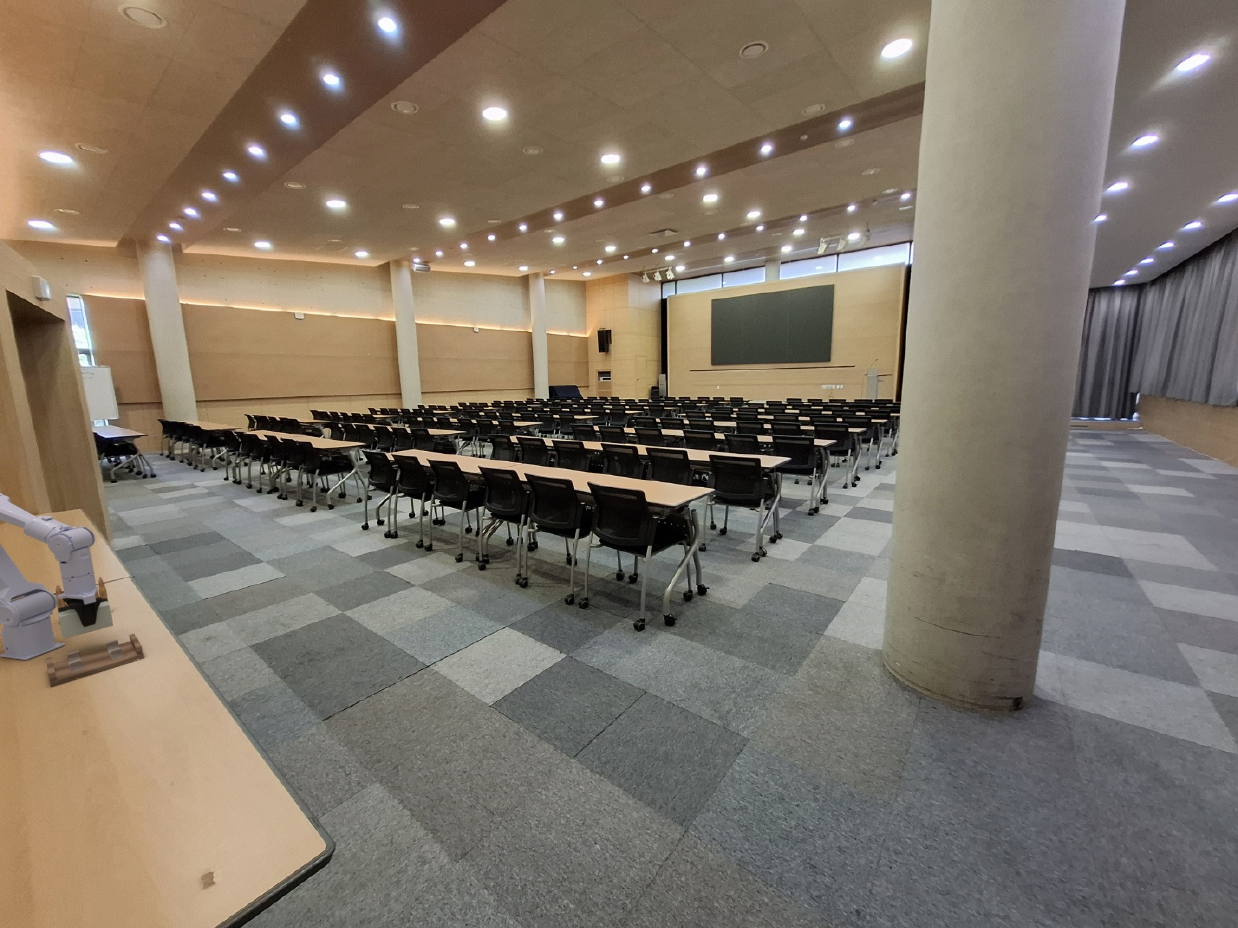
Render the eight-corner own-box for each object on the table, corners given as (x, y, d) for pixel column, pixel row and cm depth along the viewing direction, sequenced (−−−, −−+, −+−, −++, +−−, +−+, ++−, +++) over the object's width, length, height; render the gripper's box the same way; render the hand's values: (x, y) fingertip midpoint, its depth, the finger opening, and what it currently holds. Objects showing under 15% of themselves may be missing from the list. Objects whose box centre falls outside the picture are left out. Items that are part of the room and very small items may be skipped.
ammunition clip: (59, 624, 147) (52, 586, 146) (60, 622, 149) (53, 584, 147) (110, 612, 155) (104, 576, 153) (110, 611, 156) (104, 575, 154)
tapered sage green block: (61, 634, 128) (57, 612, 128) (110, 621, 135) (107, 601, 135) (63, 638, 126) (59, 617, 125) (113, 625, 133) (109, 604, 132)
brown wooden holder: (47, 669, 123) (45, 656, 122) (135, 643, 135) (133, 631, 135) (51, 687, 116) (48, 673, 115) (144, 658, 128) (142, 645, 128)
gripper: (47, 574, 129) (56, 622, 131) (63, 584, 121) (72, 636, 123) (86, 565, 135) (94, 612, 137) (103, 575, 127) (111, 624, 129)
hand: (86, 623), depth 130 cm, fingers closed on tapered sage green block, 4 cm apart
